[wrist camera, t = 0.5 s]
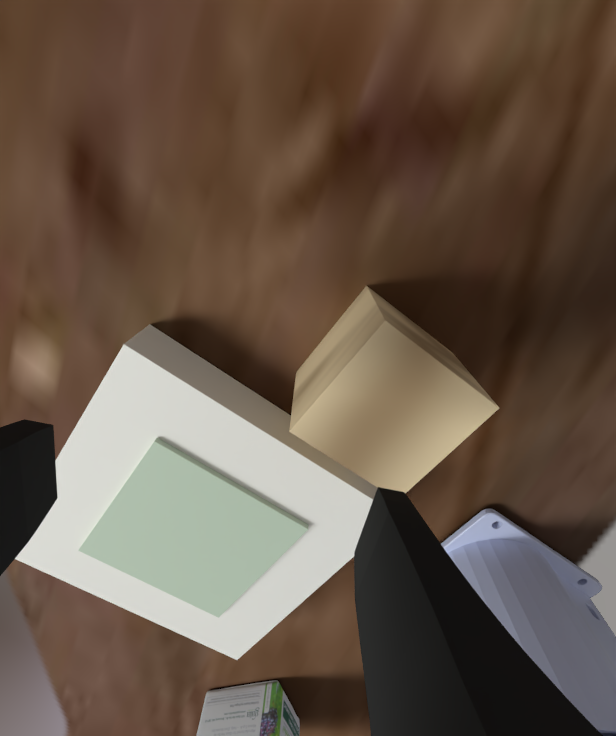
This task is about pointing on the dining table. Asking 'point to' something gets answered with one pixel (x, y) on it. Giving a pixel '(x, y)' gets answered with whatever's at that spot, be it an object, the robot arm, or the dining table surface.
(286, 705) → the syrup box
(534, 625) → the robot arm
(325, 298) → the dining table surface
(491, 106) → the dining table surface
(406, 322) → the birch block
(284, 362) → the dining table surface
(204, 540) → the base plinth
